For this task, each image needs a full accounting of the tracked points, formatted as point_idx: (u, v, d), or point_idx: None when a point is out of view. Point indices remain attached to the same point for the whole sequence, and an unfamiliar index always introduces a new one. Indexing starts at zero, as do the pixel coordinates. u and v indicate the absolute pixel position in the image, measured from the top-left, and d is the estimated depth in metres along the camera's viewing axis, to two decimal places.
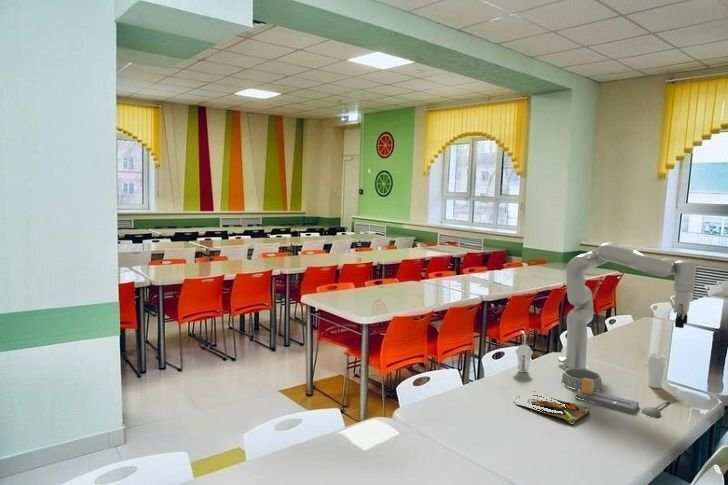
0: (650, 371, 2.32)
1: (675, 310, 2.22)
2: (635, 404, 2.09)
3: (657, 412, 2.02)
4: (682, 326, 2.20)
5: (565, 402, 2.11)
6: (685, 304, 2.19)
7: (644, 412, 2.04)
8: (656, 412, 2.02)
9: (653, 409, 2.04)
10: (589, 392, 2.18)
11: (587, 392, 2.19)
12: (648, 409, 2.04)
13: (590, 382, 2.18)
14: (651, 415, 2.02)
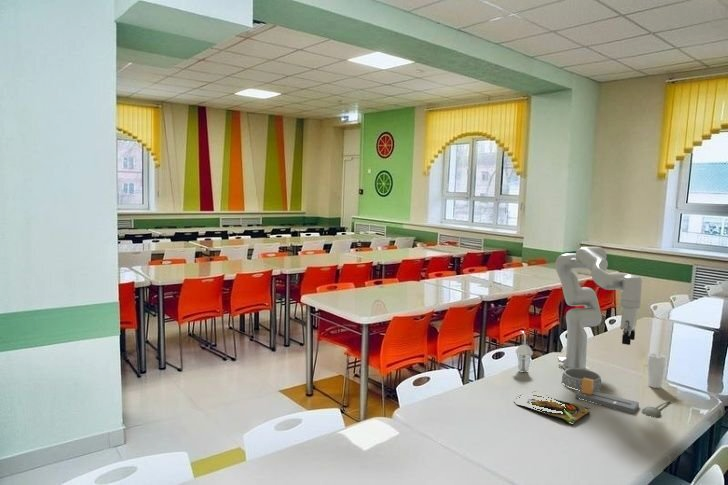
0: (650, 371, 2.32)
1: (622, 326, 2.17)
2: (635, 404, 2.09)
3: (657, 412, 2.03)
4: (629, 343, 2.16)
5: (565, 402, 2.11)
6: (631, 320, 2.15)
7: (644, 412, 2.04)
8: (656, 412, 2.03)
9: (653, 409, 2.04)
10: (589, 392, 2.18)
11: (587, 392, 2.19)
12: (648, 409, 2.05)
13: (590, 382, 2.18)
14: (651, 415, 2.02)
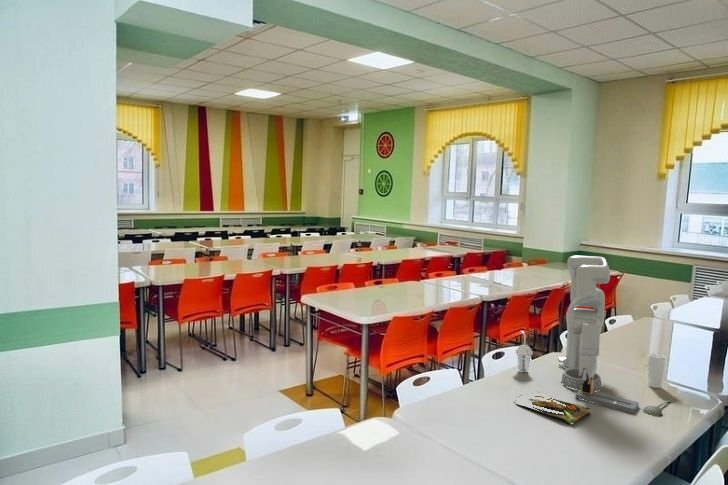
0: (650, 371, 2.32)
1: (580, 373, 2.17)
2: (635, 404, 2.09)
3: (659, 411, 2.03)
4: (588, 391, 2.18)
5: (566, 402, 2.11)
6: (589, 368, 2.14)
7: (646, 411, 2.05)
8: (658, 411, 2.03)
9: (654, 408, 2.05)
10: None
11: None
12: (650, 408, 2.06)
13: (590, 382, 2.18)
14: (653, 414, 2.03)
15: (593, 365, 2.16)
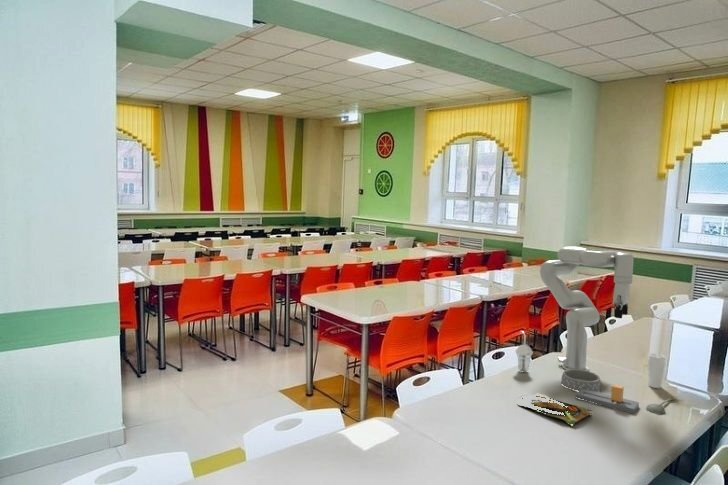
0: (650, 371, 2.32)
1: (614, 301, 2.29)
2: (635, 404, 2.09)
3: (661, 409, 2.06)
4: (620, 316, 2.28)
5: (568, 404, 2.10)
6: (623, 295, 2.27)
7: (648, 409, 2.07)
8: (660, 409, 2.06)
9: (657, 406, 2.07)
10: (619, 399, 2.10)
11: (617, 399, 2.11)
12: (652, 406, 2.08)
13: (620, 389, 2.10)
14: (655, 412, 2.05)
15: (627, 293, 2.28)
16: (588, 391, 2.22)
